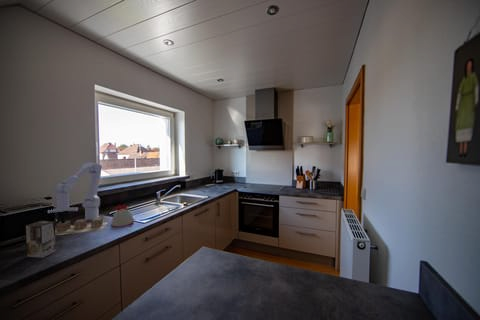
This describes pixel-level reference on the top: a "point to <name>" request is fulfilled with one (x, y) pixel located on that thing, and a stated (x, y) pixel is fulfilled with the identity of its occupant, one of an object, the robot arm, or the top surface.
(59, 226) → the plain block
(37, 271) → the top surface
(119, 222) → the white red-topped dome
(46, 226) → the coffee box
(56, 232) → the board
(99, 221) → the two bar block
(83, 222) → the one bar block
